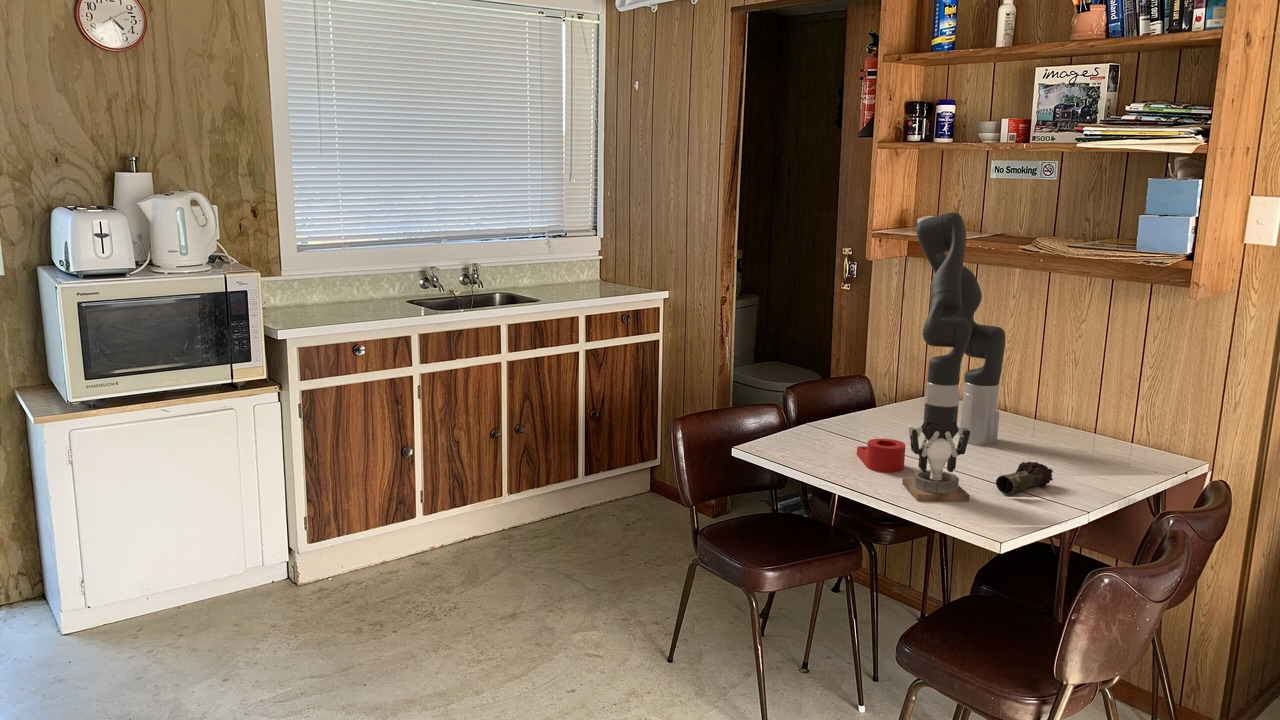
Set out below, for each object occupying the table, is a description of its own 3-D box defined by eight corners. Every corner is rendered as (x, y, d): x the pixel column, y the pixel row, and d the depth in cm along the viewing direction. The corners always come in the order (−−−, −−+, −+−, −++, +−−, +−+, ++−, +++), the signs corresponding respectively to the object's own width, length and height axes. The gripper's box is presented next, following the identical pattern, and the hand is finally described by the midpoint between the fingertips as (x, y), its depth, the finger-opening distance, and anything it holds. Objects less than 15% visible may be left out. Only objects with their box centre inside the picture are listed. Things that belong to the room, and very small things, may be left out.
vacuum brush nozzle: (1012, 497, 224) (1015, 474, 223) (987, 488, 230) (990, 466, 229) (1055, 486, 234) (1059, 464, 233) (1030, 479, 240) (1034, 457, 239)
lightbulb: (953, 485, 225) (956, 440, 223) (925, 485, 225) (929, 439, 223) (945, 477, 231) (948, 432, 229) (918, 476, 231) (921, 432, 229)
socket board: (951, 484, 235) (952, 469, 234) (968, 501, 223) (970, 484, 222) (902, 484, 234) (903, 468, 234) (917, 500, 223) (918, 484, 222)
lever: (910, 472, 244) (912, 447, 243) (877, 475, 242) (878, 449, 241) (875, 453, 261) (877, 429, 260) (844, 455, 259) (845, 431, 258)
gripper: (966, 398, 228) (961, 466, 231) (906, 397, 228) (901, 466, 231) (978, 405, 221) (972, 476, 224) (915, 405, 221) (910, 475, 224)
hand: (936, 470), depth 228 cm, fingers closed on lightbulb, 5 cm apart
